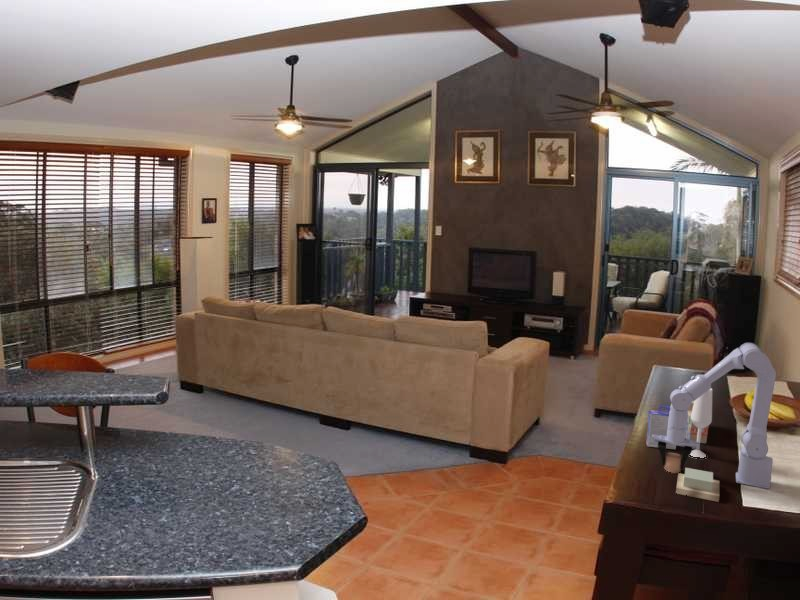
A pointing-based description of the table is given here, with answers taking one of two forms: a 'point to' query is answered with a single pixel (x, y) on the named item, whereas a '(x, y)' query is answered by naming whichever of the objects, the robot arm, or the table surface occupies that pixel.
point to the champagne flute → (701, 417)
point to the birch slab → (697, 490)
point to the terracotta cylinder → (673, 462)
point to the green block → (698, 479)
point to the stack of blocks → (695, 429)
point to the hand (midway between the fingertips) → (672, 466)
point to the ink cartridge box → (658, 426)
